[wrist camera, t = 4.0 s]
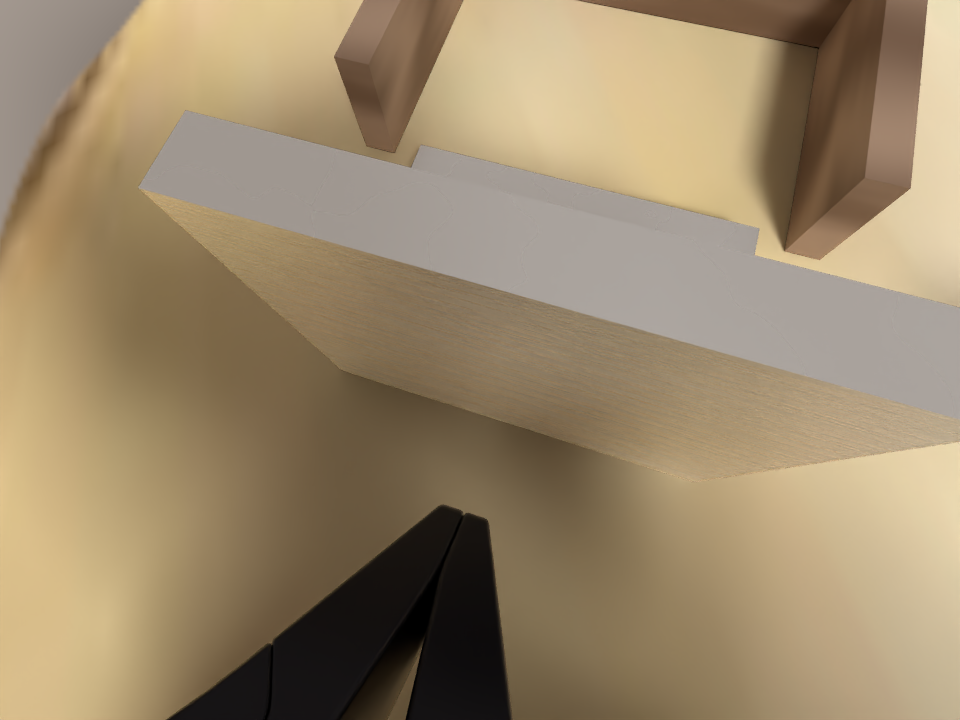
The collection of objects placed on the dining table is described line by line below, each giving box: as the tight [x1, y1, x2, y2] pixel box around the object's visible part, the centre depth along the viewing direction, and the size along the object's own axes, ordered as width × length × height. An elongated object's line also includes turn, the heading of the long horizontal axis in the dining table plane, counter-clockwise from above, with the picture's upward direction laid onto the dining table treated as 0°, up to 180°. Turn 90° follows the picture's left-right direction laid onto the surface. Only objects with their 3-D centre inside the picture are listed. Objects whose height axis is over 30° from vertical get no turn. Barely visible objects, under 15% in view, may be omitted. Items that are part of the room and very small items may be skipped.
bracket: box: [138, 110, 960, 482], centre depth 12 cm, size 8×12×10 cm
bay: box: [334, 0, 928, 260], centre depth 18 cm, size 11×17×4 cm, turn 72°
